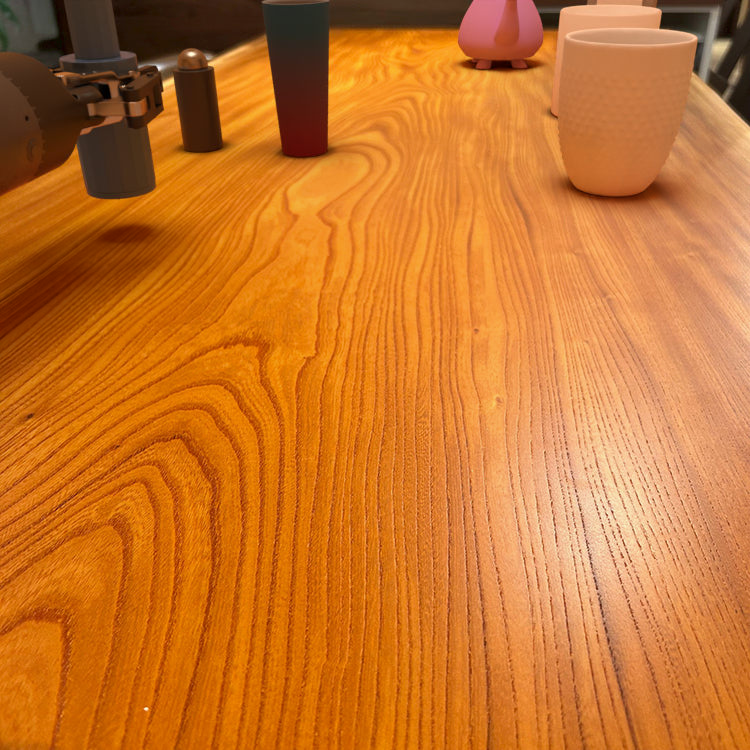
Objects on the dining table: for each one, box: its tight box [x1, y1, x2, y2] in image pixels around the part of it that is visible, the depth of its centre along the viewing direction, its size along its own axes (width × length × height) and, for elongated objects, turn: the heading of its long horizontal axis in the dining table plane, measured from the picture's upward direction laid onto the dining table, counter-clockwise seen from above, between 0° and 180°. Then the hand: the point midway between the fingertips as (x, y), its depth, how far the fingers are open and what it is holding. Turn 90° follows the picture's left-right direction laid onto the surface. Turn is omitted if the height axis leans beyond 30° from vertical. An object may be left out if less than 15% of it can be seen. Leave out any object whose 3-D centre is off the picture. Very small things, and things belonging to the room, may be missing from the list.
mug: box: [557, 28, 699, 197], centre depth 71 cm, size 15×11×13 cm
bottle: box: [58, 0, 157, 200], centre depth 59 cm, size 5×5×14 cm
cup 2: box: [550, 4, 663, 118], centre depth 96 cm, size 12×12×12 cm
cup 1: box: [261, 0, 330, 158], centre depth 82 cm, size 7×7×15 cm
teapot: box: [457, 0, 544, 70], centre depth 128 cm, size 20×14×12 cm
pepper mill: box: [172, 47, 224, 153], centre depth 85 cm, size 4×4×10 cm
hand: (119, 78), depth 60 cm, fingers closed on bottle, 5 cm apart
